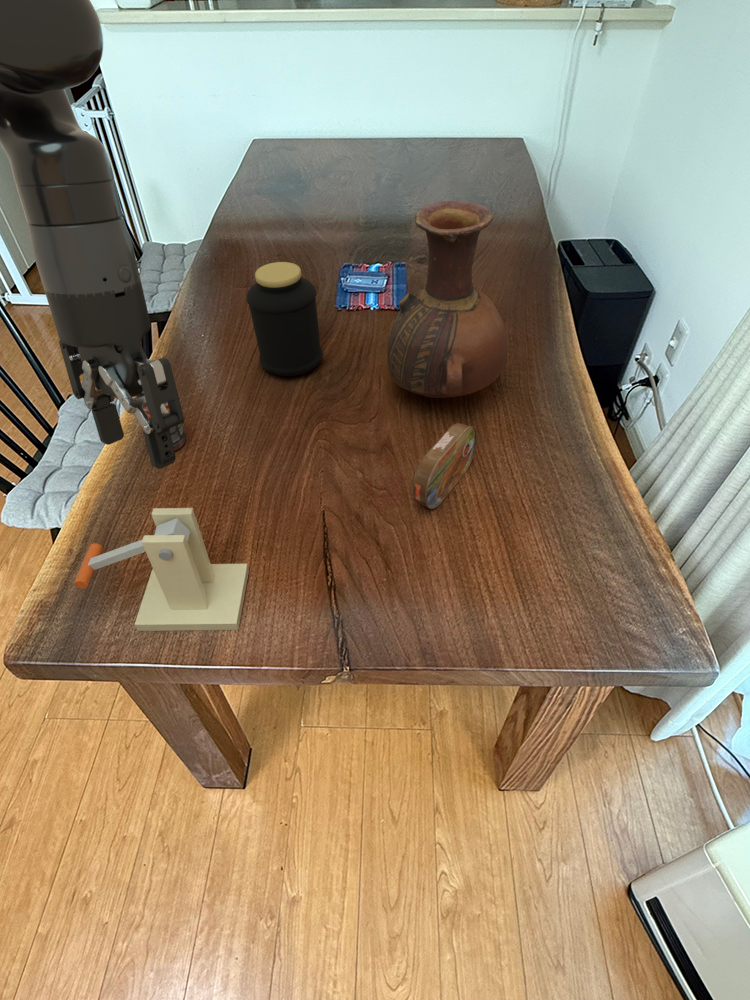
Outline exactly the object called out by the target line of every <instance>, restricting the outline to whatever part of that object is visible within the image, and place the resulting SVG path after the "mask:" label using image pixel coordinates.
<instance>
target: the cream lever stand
mask: <svg viewBox="0 0 750 1000" xmlns="http://www.w3.org/2000/svg"><path fill="white" fill-rule="evenodd" d="M150 515H151V518H152V520H153V523H154V525H155V527H156V528H157V526H158V525H160V524H163V523H165V522H168V521H171V520H173V519H176V518H178V519H179V520H180V521H181V522H182V523H183V524H184V525H185V526H186V527H187V528H188V529H189V530H190V531H191V532H190V535H189V539H188V542H187V540H186V537H185V535H154V534H153V535H151V534H150V535H149V534H148V535H145V534H144V535H143V537H142V539H141V540H142V544H143V547H144V549H145V551H146V552H145V553H146V556H147V558H148V560H149V563H150V565H151V567H152V569H151V572H150V575H149V579H148V581H147V584H146V587H145V591H144V595H143V597H142V600H141V603H140V606H139V609H138V612H137V616H136V618H135V622H134V627H135V629H136V631H138V632H173V631H174V632H175V631H177V632H178V631H180V632H181V631H189V632H190V631H239V629H240V624H241V618H242V612H243V608H244V607H243V606H244V600H245V596H246V589H247V585H248V579H249V573H250V568H249V565H248V563H211V560H210V558H209V555H208V551H207V548H206V545H205V542H204V539H203V536H202V535H203V534H202V532H201V529H200V526H199V524H198V520H197V517H196V514H195V511H194V508H193V507H153V508H152V511H151V513H150ZM156 528H155V529H156Z"/></svg>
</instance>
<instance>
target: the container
mask: <svg viewBox="0 0 750 1000" xmlns="http://www.w3.org/2000/svg"><path fill="white" fill-rule="evenodd" d="M302 275H303V274H302V269H301V267H300V266H299V265H298V264H295V263H293V262H288V261H275V262H270V263H267V264H264V265H262V266H260V267H259V268H257V269H256V270H255V272H254V279H255V283H254V284H252V285H251V286H250V287H249V289H248V291H247V293H246V303H247V304H248V306H249V312H250V315H251V320H252V324H253V329H254V334H255V338H256V342H257V347H258V351H259V352H258V353H259V356H258V358H259V363H260V365H261V366H262V368H263V369H264V370H266V371H267V372H269V373H271V375H276V376H281V377H295V376H300V375H304V374H307V373H309V372H310V371H312V370H314V369H315V368H316V367H317V366H318V365H319V364H320V363H321V361H322V358H323V355H324V353H323V352H324V351H323V348H322V346H321V340H320V330H319V329H320V328H319V319H318V309H317V308H318V307H317V299H316V296H317V290H316V286H315V285H314V284H313V283H312V282H311V281H310V280H309V279H307V278H306V277H305V278H304V277H302Z"/></svg>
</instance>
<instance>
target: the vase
mask: <svg viewBox="0 0 750 1000" xmlns="http://www.w3.org/2000/svg"><path fill="white" fill-rule="evenodd" d="M493 219H494V215H493V213H492V212H491V210H490V209H489V208H487V207H486V206H484V205H481V204H479V203H476V202H472V201H468V200H467V201H466V200H441V201H437V202H433V203H429V204H427V205H425V206H423V207H420V208H419V210H418V211H417V212H416V213H415V215H414V224H415V225H416V227H418V229H421V230H422V231H424V232H425V234H426V239H427V246H428V264H427V274H426V275H427V276H426V284H425V288H422V289H419V290H418V291H416V292H414V293H412V292H408V293H407V294H406V295H404V296H403V298H402V299H400V301H399V303H398V308H399V311H398V313H397V314H396V317H395V319H394V322H393V324H392V328H391V330H390V333H389V336H388V341H387V349H386V358H387V368H388V372H389V375H390V378H391V379H392V381H393V382H394V383H395V385H397V386H398V387H400V388H402V389H404V390H405V391H408V392H410V393H413V394H416V395H419V396H421V397H422V396H423V397H427V398H434V399H435V398H436V399H442V398H443V399H444V398H445V399H446V398H456V397H457V398H458V397H462V396H466V395H470V394H473V393H476V392H478V391H481V390H483V389H484V388H487V387H488V386H489V385H491V384H492V383H494V382H495V381H496V380H497V379H498V377H499V376H500V375H501V374H502V373H503V371H504V368H505V366H506V362H507V356H508V337H507V331H506V327H505V324H504V321H503V319H502V317H501V315H500V313H499V311H498V309H497V308H496V305H494V303H493V302H492V300H491V299H490V298H489V297H488V295H486V294H485V293H483V292H482V291H481V290H479V289H478V288H475V287H474V284H473V265H474V261H475V255H476V250H477V245H478V242H479V241H478V240H479V236H480V233H481V231H483V230H484V229H486V228H487V227H488V226H489V225H490V224H491V223H492V222H493Z"/></svg>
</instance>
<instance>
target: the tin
mask: <svg viewBox="0 0 750 1000" xmlns="http://www.w3.org/2000/svg"><path fill="white" fill-rule="evenodd" d="M477 442H478V432H477V428H476V427H475V426H472V425H467V424H465V423H460V422H456V423H453V424H452V425H451V426H449V427H448V429H447V430H446V431H445V432H443V434H442V435H441V436H440V437H439V439H437V440H436V442H435V443H434V444H433V445H432V446H431V447H430V449H429V450H427V452H425V454H424V455H423V456H422V458H421V459H420V461H419V463H418V465H417V468H416V470H415V472H414V476H413V480H412V495H413V501H414V502H415V503H417V504H418V505H421V506H424V507H426V508H428V509H429V510H434V509H436V508H438V507H439V506H440V505H441V504H442V503H443V502H444V501H445V499H446V498H447V496H448V495H449V494H450V493H451V492H452V490H453V489H454V488H455V486H456V485H457V484H458V483H459V482H460V480H461V479H462V478H463V477H464V476H465V474H466V473H467V471H468V469H469V468H470V465H471V463H472V461H473V458H474V456H475V452H476V448H477Z"/></svg>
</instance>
